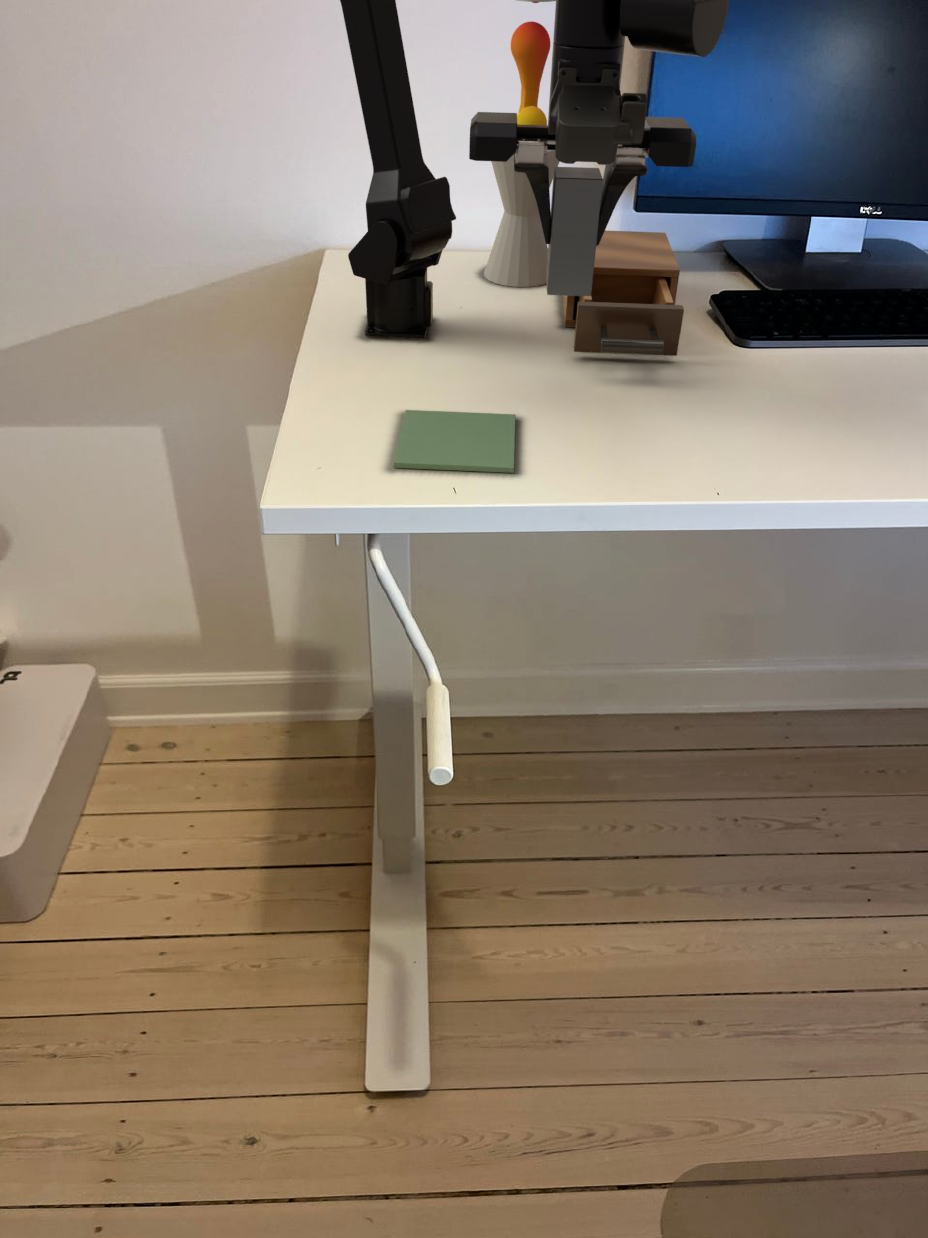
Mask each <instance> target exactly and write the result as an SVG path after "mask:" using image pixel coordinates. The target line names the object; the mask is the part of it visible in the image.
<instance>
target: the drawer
mask: <svg viewBox="0 0 928 1238" xmlns="http://www.w3.org/2000/svg"><path fill="white" fill-rule="evenodd" d="M673 303H674V302H673V299H672V297H671V294H670V291H669V288H668V285H667V282H666V279H665V277H653V276H625V275H598V274H593V282H592V292H591V296H577V317H576V327H574V328H575V330H574V339H573V352H574V353H596V354H597V353H598V354H617V355H646V356H647V355H648V356H669V357H670V356H671V357H673V356H674V357H677V356H678V351H679V350H678V349H679V343H680V337H681V331H682V326H683V318H684V313H685V308H684V306H683V305H682V304H675V305H673Z"/></svg>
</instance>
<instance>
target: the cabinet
mask: <svg viewBox="0 0 928 1238" xmlns="http://www.w3.org/2000/svg"><path fill="white" fill-rule="evenodd" d="M680 272H681V270H680V267H679V264H678V262H677V259H676V257H675V254H674V251H673V248H672V246H671V244H670V241H669V239H668V235H667V233H666V232H661V231H660V232H659V231H658V232H657V231H635V230H634V231H631V230H629V231H628V230H606V229H605V231H604V234H603V236H602V238H601V241H600V243H599V245H598V246H596V253H595V262H594V272H593V274H598V275H625V276H653V277H665V279H666V282H667V285H668V288H669V291H670V294H671V297H672V299H673V302H674V303H673V305H676V301H677V300H676V299H677V292H678V288H679V287H678V286H679V279H680V274H681V273H680ZM561 298H562V308H563V321H564V322H563V323H564V327H565V328H576V317H577V296H565V295H561Z"/></svg>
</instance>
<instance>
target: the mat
mask: <svg viewBox="0 0 928 1238" xmlns="http://www.w3.org/2000/svg"><path fill="white" fill-rule="evenodd" d="M515 444H516V414H514V413H513V414H511V413H492V412H491V413H490V412H468V411H465V412H464V411H446V410H445V411H443V410H442V411H441V410H419V409H418V410H417V409H416V410H415V409H405V410H404V415H403V420H402V424H401V427H400V433H399V436H398V442H397V446H396V451H395V455H394V459H393V468H394V469H395V468H396V469H416V470H417V469H418V470H439V471H440V470H441V471H462V472H463V471H464V472H486V473H506V474H507V473H508V474H510V473H511V474H513V473H514V472H515V452H516V451H515V449H516V447H515Z"/></svg>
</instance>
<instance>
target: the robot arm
mask: <svg viewBox="0 0 928 1238" xmlns="http://www.w3.org/2000/svg"><path fill="white" fill-rule="evenodd" d="M339 2H340V5H341V11H342V15H343V20H344V21H343V22H344V27H345V30H346V36H347V41H348V46H349V51H350V57H351V61H352V67H353V71H354V72H353V73H354V76H355V82H356V87H357V92H358V96H359V102H360V108H361V112H362V117H363V121H364V122H363V123H364V127H365V133H366V138H367V143H368V149H369V153H370V158H371V163H372V164H371V165H372V176H371V181H370V185H369V188H368V192H367V196H366V201H365V214H366V215H365V216H366V227H367V232H365V234H364V235H363V236H362V237H361V238H360V240H359V241H358V242H357V243H356V244H355V246H354V247H353V248H352V249H351V250H350V251H349V252H348V254H347V257H348V261H349V264H350V267H351V272H352V275H353V276H355V277H357V278H358V277H359V278H361V279H364V282H365V283H364V284H365V303H366V304H365V305H366V325H365V328H364V336H365V337H368V338H370V337H371V338H391V339H392V338H395V339H396V338H397V339H418V340H420V339H422V340H423V339H425V338H426V336H427V332H428V329H430V328H431V327H432V324H433V318H434V307H433V306H434V282H432V281H431V280H428V268H430V267H435V266H438V265H439V263H440V259H441V256H442V253H443V250H444V249H445V248H446V247H447V245H448V243H449V241H450V240H451V239H452V236H453V221H455V220H457V216H456V214H455V212H454V210H453V206H452V203H451V185H450V183H449V179H448V178H447V177H446V176H442V177H439V178H436V177H435V175H434V174H433V173H432V171H431V170H430V168H429V167H428V165H427V164H426V162H425V160H424V157H423V151H422V147H421V139H420V133H419V129H418V123H417V119H416V118H417V117H416V111H415V105H414V100H413V96H412V95H413V93H412V88H411V83H410V76H409V71H408V66H407V65H408V64H407V59H406V53H405V49H404V48H405V47H404V42H403V36H402V31H401V30H402V29H401V25H400V24H401V23H400V20H399V19H400V18H399V13H398V7H397V2H396V0H339ZM729 3H730V1H729V0H556V1H555V11H554V23H553V40H552V53H551V67H550V68H551V71H550V85H549V98H548V99H549V100H548V115H547V125H517V115H518V112H497V111H495V112H493V111H477V112H476V113H475V115H473V117H472V118H471V119H470V127H469V148H468V149H469V150H468V151H469V152H468V153H469V155H468V159H469V160H471V161H475V162H491V161H499V162H507V161H508V160H509V159H510V158H511V157H512V156H513V168H514V171H516V172H522V173H525V174H526V176H527V178H528V180H529V183H530V185H531V188H532V190H533V193H534V196H535V199H536V203H537V207H538V211H539V216H540V220H541V225H542V229H543V234H544V238H545V243H546V244H547V245H548V244H550V238H551V195H550V194H551V193H550V191H551V190H550V188H549V167H548V161H547V150H555V156H556V158H557V160H558V161H560V162H559V163H562V164H568V165H573V164H575V163H578V162H579V163H596V164H598V165H599V166H604V170H603V176H602V179H603V184H602V193H601V203H600V213H599V223H598V233H597V243H596V246H598V245H599V243H600V241H601V238H602V236H603V234H604V231H605V230H606V229H607V228H608V224H609V222H610V220H611V217H612V215H613V213H614V210H615V208H616V206H617V204H618V202H619V200H620V199H621V197H622V195H623V193H624V191H625V190H626V188H627V187H628V186H629V184H630V183H631V182H632V181H633V180H634V178H636V177H644V176H646V175H647V173H648V167H647V164H646V159H648V158H650V160H651V161H652V162H653V164H655V166H656V167H667V168H669V167H672V168H679V167H680V168H689V167H693V166H694V162H695V155H696V149H697V134H696V133H695V131H694V129H692V127H691V126H690V125H689V123H688V122H687V121H686V119H685V118H684V117H673V116H671V117H667V116H647V111H648V110H647V109H648V96H647V95H648V94H647V93H644V92H643V93H641V92H623V93H622V92H621V81H622V73H623V72H622V71H623V62H624V54H625V53H624V52H625V43H626V37H627V40H628V41H629V43H630V45H631V46H632V47H633V49H636V50H640V51H649V52H657V53H665V54H673V55H682V56H690V57H698V58H699V57H700V58H705V57H707V56H709V55H710V54H711V53H712V52H713V51H714V49H715V48H716V46H717V44H718V42H719V41H720V38H721V36H722V33H723V31H724V27H725V24H726V20H727V15H728V11H729V5H730V4H729Z"/></svg>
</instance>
